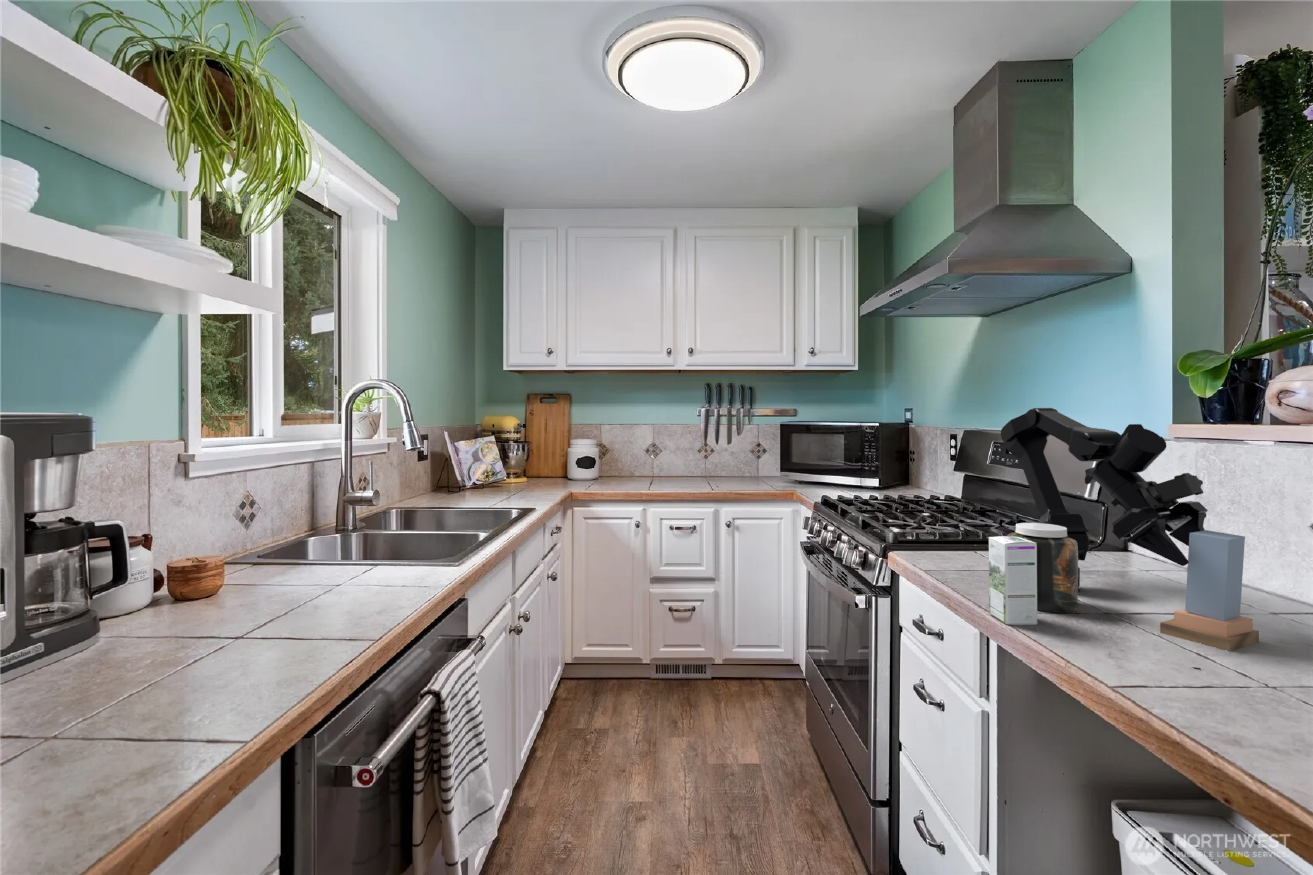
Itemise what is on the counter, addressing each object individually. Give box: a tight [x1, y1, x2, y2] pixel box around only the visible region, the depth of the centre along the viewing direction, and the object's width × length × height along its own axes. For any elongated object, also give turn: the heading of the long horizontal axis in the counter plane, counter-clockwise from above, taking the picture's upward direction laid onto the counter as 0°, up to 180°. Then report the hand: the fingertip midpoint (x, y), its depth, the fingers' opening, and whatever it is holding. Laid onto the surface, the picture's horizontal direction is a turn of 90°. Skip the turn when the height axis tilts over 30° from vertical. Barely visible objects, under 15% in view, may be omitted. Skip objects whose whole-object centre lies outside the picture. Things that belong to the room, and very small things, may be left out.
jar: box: [1006, 522, 1079, 613], centre depth 117 cm, size 12×12×15 cm
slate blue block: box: [1184, 529, 1246, 621], centre depth 98 cm, size 5×5×13 cm
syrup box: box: [988, 535, 1038, 626], centre depth 108 cm, size 6×6×14 cm
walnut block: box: [1159, 618, 1260, 652], centre depth 98 cm, size 9×9×2 cm
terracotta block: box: [1173, 608, 1254, 637], centre depth 98 cm, size 7×7×2 cm
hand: (1201, 561), depth 99 cm, fingers open, 9 cm apart
